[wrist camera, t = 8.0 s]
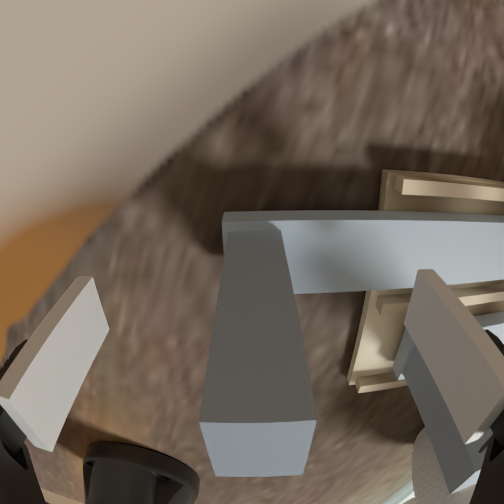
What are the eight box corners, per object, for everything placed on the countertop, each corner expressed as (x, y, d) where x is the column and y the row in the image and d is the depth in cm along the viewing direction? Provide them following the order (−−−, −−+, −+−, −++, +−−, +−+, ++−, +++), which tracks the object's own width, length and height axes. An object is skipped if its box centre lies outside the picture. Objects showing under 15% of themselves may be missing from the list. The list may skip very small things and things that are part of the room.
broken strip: (392, 367, 21) (441, 499, 11) (405, 326, 19) (476, 469, 9) (495, 346, 21) (554, 440, 11) (512, 309, 19) (585, 404, 9)
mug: (380, 419, 26) (411, 534, 14) (476, 365, 24) (532, 467, 12) (408, 459, 32) (430, 538, 20) (479, 419, 29) (513, 494, 17)
